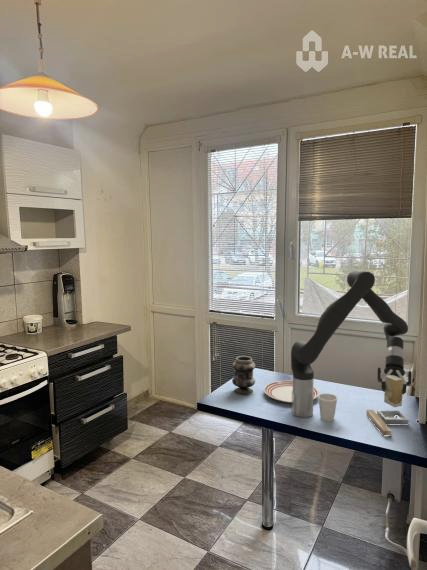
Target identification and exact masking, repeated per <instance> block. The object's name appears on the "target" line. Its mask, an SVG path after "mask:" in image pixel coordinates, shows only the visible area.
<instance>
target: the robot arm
mask: <svg viewBox="0 0 427 570" xmlns="http://www.w3.org/2000/svg"><path fill="white" fill-rule="evenodd" d="M375 278H376V277H375V275H374V273H372V272H371V271H367V270H362V269H361V270H360V269H355V270H351V271H350V272H349V273H348V274H347V278H346V281H347V285H348V286H349V287H350V288H349V289H348V290H347V292H346V293H344V294H343V295H341V296H340V297H339V298H337V299H335V300H333V302H331V303H330V304H328V306H327V307H326V308H325V309H324V311H323V312H322V314H321V315H320V316H319V319H318V323H317V327H316V330H315V332H314V333H313V335H312V336H311V337H310V339H309V340H308V341H304V340H298V341H296V342H295V343H293V345H292V347H291V352H290V360H291V362H290V365H291V366H290V367H291V372H292V381H293V391H292V403H291V408H290V409H291V412H292V415H293V416H294V417H299V418H309V417H313V414H314V400H313V387H314V381H315V380H314V379H315V377H314V370H313V368H312V366H311V365H312V364H313V363H314V362H315V361H316V360H317V359H318V357H319V356H320V354H321V353H322V351H323V349H324V347H325V346H326V344H327V343H328V342H329V340H330V339H331V338H332V336H333V335H334V334H335V333H336V331H337V330H338V329H339V327H340V326H341V325H342V324H343V323H344V321H345V320H346V318H347V317H348V315H350V313H351V312H352V311H353V310H354V308H356V306H357V305H358V303H359V302H360V301H361V300H362V301H364V302H365V303H366V304H367V305H368V307H369V308H370V309H371V310H372V312H373V313H374V314H375V315H376V317H377V318H378V319H379V321H380V322H381V323H383V324H384V325H383V332H384V335H385V339H386V351H385V365H384V368H381V367H378V368H377V382H378V383H381V387H380V388H381V391H382V392H384V393H385V378H386V376H388V375H394V376H397V377H399V378H401V379H403V394H402V395H405V394H406V393H407V387H411V386H412V375H413V374H412V372H413V371H410V370H409V371H405V370H404V369H405V368H404V367H405V354H404V340H403V338H402V337H400V336H402V335H405V334H407V333H408V331H409V327H408V323H407V322H406V321H405V320H404V319H403V318H401V316H399V315H398V314H396V313H395V312H394V311H393V310H392V308H391V307H390V306H389V305H388V303H387V302H386V301H385V300H384V299H383V298H382V297H381V296H379V295H378V294H377V293H376V292H375V291H374V290H373V287H374V285H375V282H376V279H375ZM383 373H384V374H385V375H384V377H382V376H381V375H383ZM404 376H406V377H407V381H406V380H405V378H404ZM381 377H382V378H381Z"/></svg>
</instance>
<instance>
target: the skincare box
mask: <svg viewBox="0 0 427 570" xmlns="http://www.w3.org/2000/svg"><path fill="white" fill-rule="evenodd" d="M383 394H384V397H383V402H384V403H385V404H387V405H389V406H391V407H393V408H399V407H402V405H403V395H404V394H403V379H401V378H399V377H397V376H394V375H388V376H386V378H385V392H384V393H383Z"/></svg>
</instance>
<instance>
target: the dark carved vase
mask: <svg viewBox="0 0 427 570" xmlns="http://www.w3.org/2000/svg"><path fill="white" fill-rule="evenodd" d="M232 367H233V369H234V376H233V377H232V380H231V382H232V384H233V385H234V386H235V387H236V388H235V389H234V390H233V391H234V393H235V394H237V395H241V396H244V395H246V396H247V395H250V394H253V393H254V390H253V389H252V388H251V387H253V386H254V385H255V383H256V379H255V377H254V370H255V368H256V364H255V362H254V361H253V358H252V357H251V356H247V355H240V356H237V357H236V358H235V361H234V362H233V363H232Z"/></svg>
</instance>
